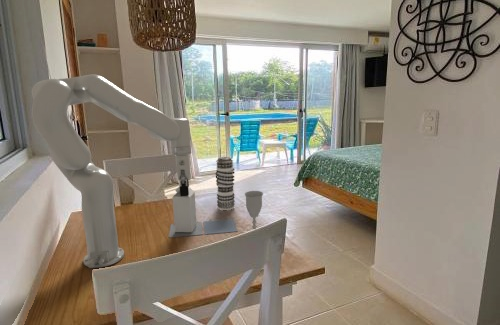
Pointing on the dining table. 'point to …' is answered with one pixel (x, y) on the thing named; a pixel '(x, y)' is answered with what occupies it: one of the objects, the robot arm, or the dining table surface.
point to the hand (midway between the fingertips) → (184, 191)
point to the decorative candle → (225, 183)
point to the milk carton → (184, 211)
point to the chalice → (254, 204)
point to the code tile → (181, 234)
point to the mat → (219, 226)
